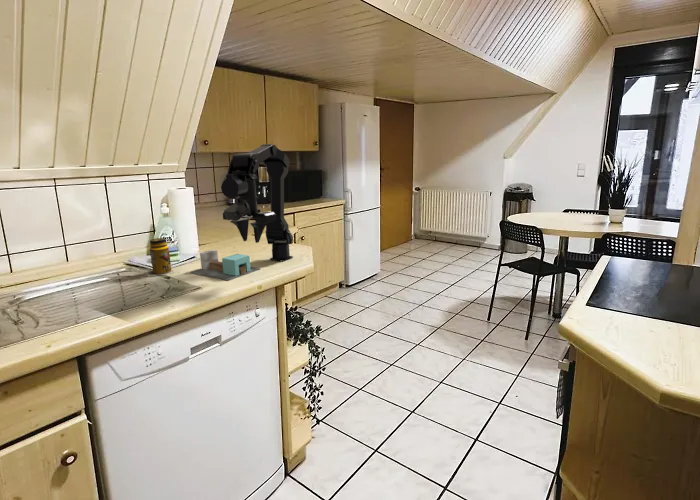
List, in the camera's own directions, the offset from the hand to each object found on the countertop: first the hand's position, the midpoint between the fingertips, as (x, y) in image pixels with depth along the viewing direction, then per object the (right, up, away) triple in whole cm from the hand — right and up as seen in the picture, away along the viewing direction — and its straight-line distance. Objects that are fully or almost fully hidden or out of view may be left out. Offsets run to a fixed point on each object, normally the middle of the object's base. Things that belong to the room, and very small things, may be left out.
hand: (251, 241), depth 132 cm
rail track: (-12, -10, +10) cm, 18 cm away
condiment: (-35, -11, +10) cm, 38 cm away
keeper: (-7, -11, +7) cm, 14 cm away
